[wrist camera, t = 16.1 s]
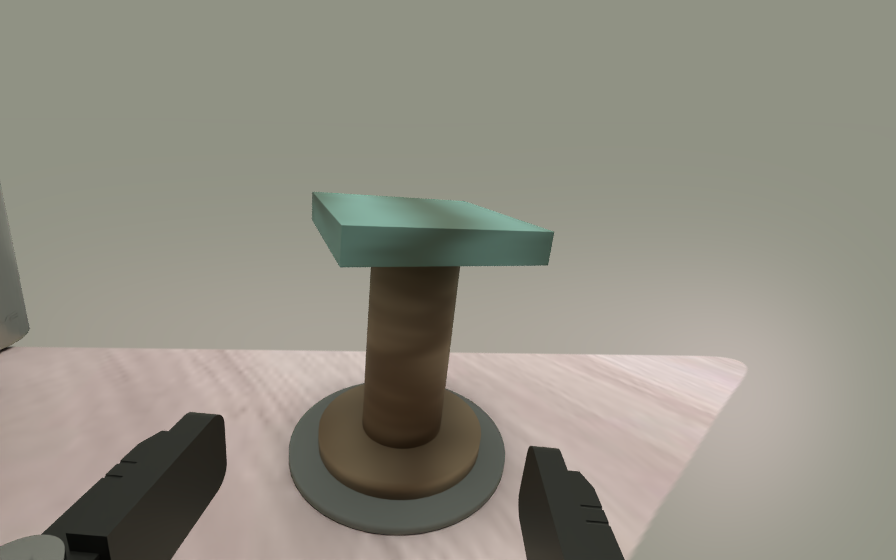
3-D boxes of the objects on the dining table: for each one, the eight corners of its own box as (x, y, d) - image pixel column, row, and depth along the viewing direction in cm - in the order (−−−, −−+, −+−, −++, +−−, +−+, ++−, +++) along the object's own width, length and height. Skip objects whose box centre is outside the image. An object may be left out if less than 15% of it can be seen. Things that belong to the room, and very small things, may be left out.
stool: (331, 521, 18) (341, 224, 14) (310, 403, 26) (312, 191, 22) (508, 476, 22) (554, 231, 18) (442, 385, 29) (464, 201, 26)
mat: (240, 508, 19) (239, 499, 18) (337, 375, 30) (338, 369, 30) (506, 557, 18) (507, 548, 18) (502, 401, 29) (503, 395, 29)
